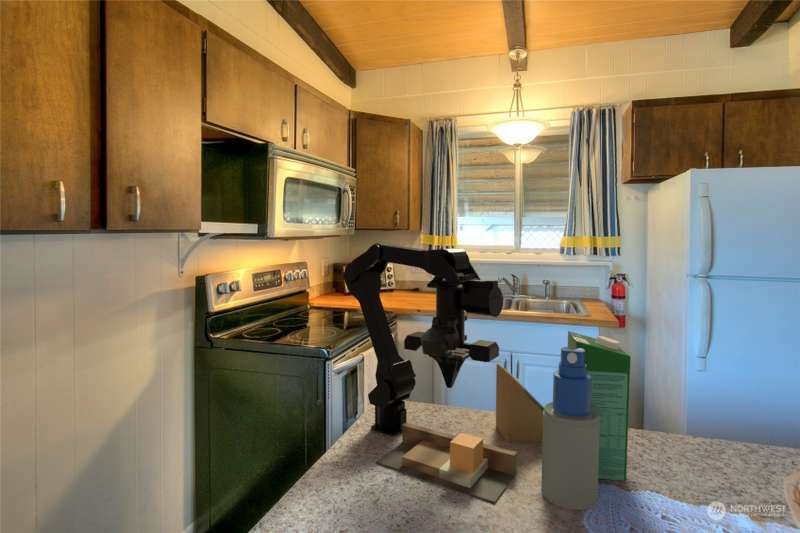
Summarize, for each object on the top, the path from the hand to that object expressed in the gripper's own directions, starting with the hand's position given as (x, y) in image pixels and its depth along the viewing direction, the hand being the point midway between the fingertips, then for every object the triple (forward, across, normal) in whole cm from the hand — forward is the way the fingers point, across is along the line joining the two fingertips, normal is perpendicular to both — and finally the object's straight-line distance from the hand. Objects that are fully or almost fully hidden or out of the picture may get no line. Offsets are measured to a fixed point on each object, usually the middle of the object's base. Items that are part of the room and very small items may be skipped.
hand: (449, 387), depth 90 cm
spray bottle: (+13, +24, -3) cm, 28 cm away
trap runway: (+13, +2, -7) cm, 15 cm away
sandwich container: (+13, +12, +18) cm, 25 cm away
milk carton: (+13, +26, +9) cm, 31 cm away
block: (+11, +7, -7) cm, 15 cm away
